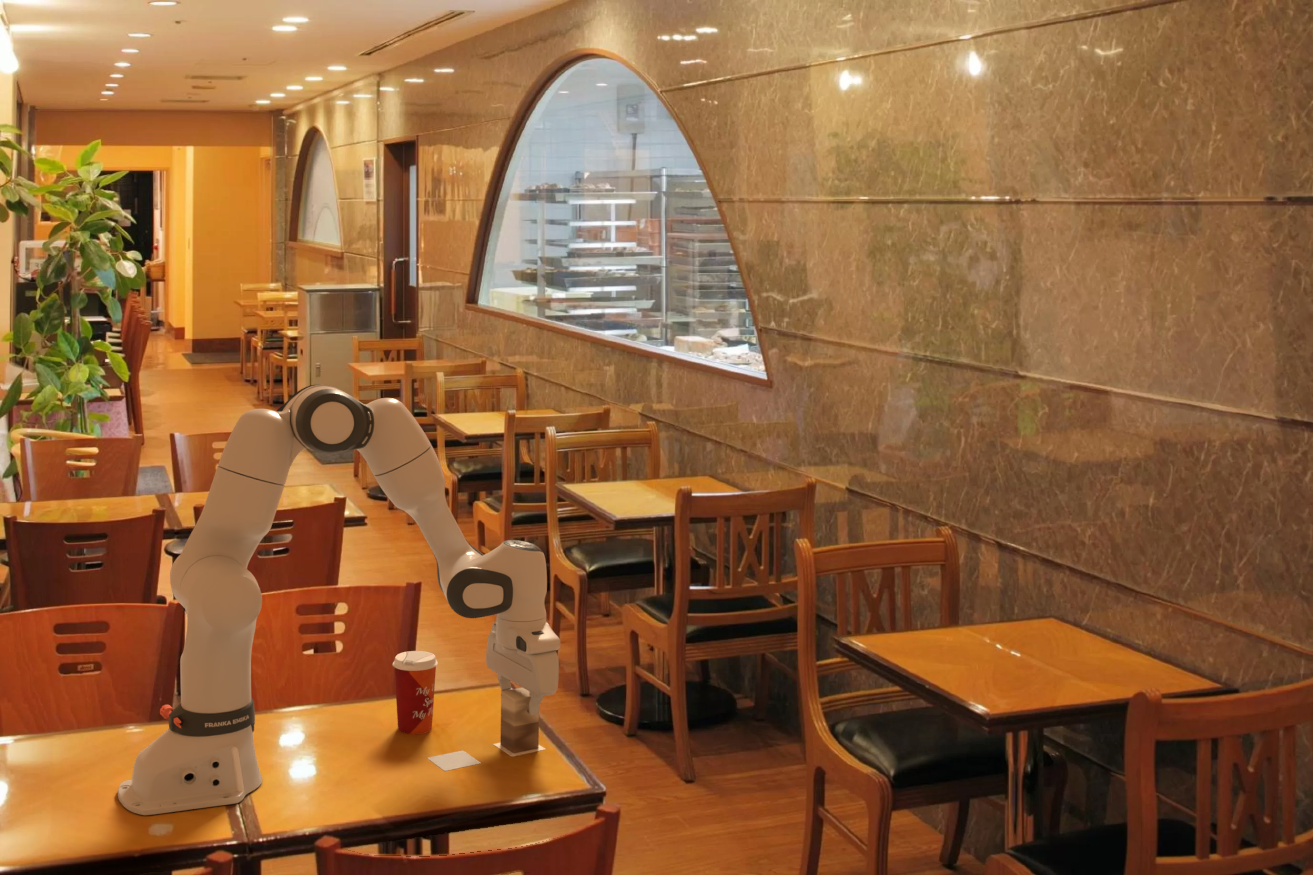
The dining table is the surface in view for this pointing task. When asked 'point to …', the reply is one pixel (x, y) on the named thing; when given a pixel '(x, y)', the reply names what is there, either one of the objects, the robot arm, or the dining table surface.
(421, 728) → the coffee cup
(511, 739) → the walnut block
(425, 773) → the dining table surface
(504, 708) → the maple block
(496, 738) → the dining table surface
